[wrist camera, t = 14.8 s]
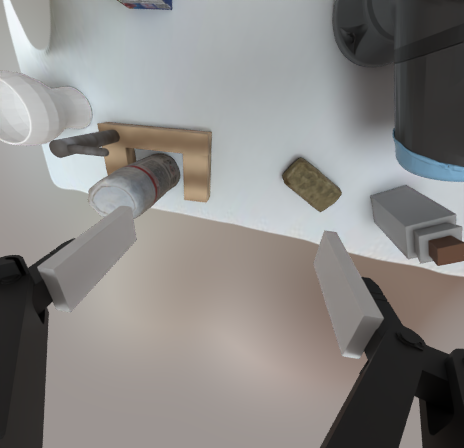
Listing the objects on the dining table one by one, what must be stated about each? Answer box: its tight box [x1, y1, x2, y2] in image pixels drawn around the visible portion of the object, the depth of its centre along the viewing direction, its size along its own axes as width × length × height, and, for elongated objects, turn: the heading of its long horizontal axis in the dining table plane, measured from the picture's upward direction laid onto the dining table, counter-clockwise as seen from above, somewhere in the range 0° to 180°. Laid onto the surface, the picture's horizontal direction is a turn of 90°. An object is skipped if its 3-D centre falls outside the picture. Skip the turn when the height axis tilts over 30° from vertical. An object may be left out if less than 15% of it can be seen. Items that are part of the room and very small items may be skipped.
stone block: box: [282, 158, 342, 212], centre depth 46 cm, size 6×12×5 cm, turn 54°
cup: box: [0, 70, 92, 146], centre depth 40 cm, size 11×11×15 cm
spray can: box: [88, 153, 180, 219], centre depth 42 cm, size 8×8×20 cm
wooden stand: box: [49, 122, 212, 202], centre depth 42 cm, size 14×22×18 cm, turn 86°
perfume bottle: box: [370, 185, 464, 266], centre depth 40 cm, size 7×7×18 cm
